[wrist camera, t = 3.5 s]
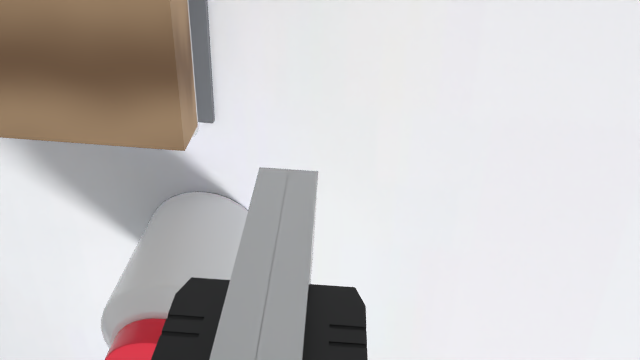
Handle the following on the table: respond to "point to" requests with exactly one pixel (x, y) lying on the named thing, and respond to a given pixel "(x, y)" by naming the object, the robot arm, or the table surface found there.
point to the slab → (97, 72)
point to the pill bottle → (170, 268)
